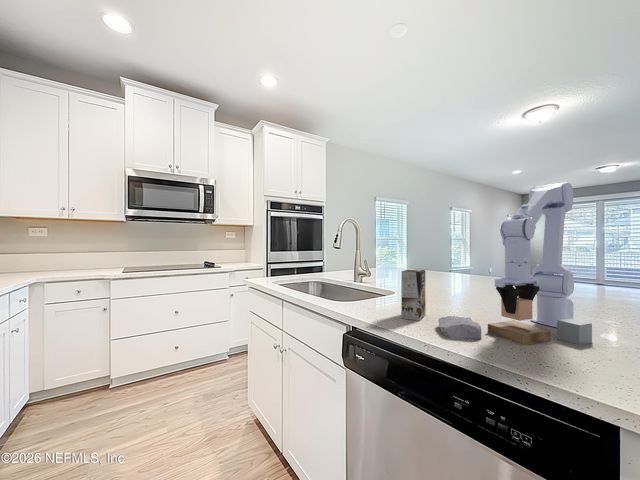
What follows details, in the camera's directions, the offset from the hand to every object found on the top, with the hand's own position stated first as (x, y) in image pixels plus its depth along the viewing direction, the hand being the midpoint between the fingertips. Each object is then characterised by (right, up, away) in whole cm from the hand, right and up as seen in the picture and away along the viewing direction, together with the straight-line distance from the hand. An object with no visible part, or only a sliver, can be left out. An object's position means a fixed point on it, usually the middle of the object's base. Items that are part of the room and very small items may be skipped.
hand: (517, 312), depth 76 cm
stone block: (-15, -7, +4) cm, 17 cm away
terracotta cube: (0, -2, 0) cm, 2 cm away
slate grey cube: (+13, -7, -3) cm, 15 cm away
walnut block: (0, -7, 0) cm, 7 cm away
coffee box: (-22, -7, +20) cm, 30 cm away
